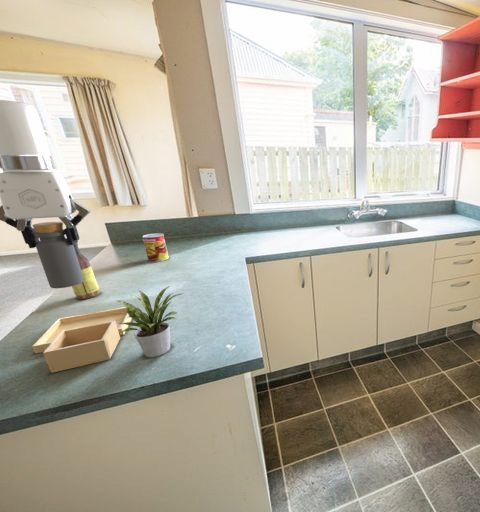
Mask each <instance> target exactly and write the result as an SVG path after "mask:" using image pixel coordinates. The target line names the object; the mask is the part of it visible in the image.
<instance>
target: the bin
mask: <svg viewBox="0 0 480 512" xmlns="http://www.w3.org/2000/svg"><path fill="white" fill-rule="evenodd" d="M120 340H121V336H120V335H119V332H118V329H117V325H116V322H115V321H110V322H105V323H100V324H95V325H89V326H84V327H79V328H73V329H68V330H63V331H61V332H60V334H59V335H58V336H57V337H56V338H55V340H54V341H53V342H52V343H51V344H50V345H49V347H48V348H47V349H46V350H45V351H44V352H42V354H43V357H44V359H45V361H46V363H47V366H48V368H49V371H50V373H51V374H53V373H58V372H61V371H65V370H70V369H73V368H79V367H83V366H87V365H91V364H96V363H100V362H104V361H109V360H111V358H112V357H113V356H112V355H113V354H114V352H115V350H116V348H117V346H118V344H119V342H120Z"/></svg>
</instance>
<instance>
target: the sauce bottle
mask: <svg viewBox="0 0 480 512" xmlns="http://www.w3.org/2000/svg"><path fill="white" fill-rule="evenodd" d="M73 246H74V249H75V252H76V255H77V258H78V262H79V265H80V268H81V271H82V275H83V278H84V282H82V283H80V284H78V285H75V286H71V288H72V291H73V293H74V295H75V297H76V298H77V299H79V300H85V299H91V298H94V297H97V296H99V295H100V293H101V290H100V287H99V284H98V281H97V279H96V277H95V274H94V270H93V269H92V266H91V264H90V261H89V259H88V258H87V257H85V255H84V254H82V253H81V251H80V249H79V244H78V242H77V243H76V244H74V245H73Z"/></svg>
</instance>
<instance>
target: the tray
mask: <svg viewBox="0 0 480 512" xmlns="http://www.w3.org/2000/svg"><path fill="white" fill-rule="evenodd" d="M111 312H114V313H111ZM118 312H121V313H118ZM124 313H125V314H124ZM132 320H133V319H132V318H131V317H129V315H128V313H127V307H126V306H123V307H118V308H112V309H106V310H101V311H95V312H89V313H84V314H78V315H77V314H76V315H72V316H67V317H61V318H57V319H56V321H55V322H54V323H53V324H52V325H51V326H50V327H49V328H48V329H47V330H46V331H45V332H44V333H43V334H42V336H41V337H39V339H38V340H36V342H35V343H34V344H33V345H32V346H31V347H32V350H33V351H34V352H33V353H34V354H35V355H36V354H40V353H43V352H44V351H45V350H46V349H47V348H48V347H49V345H50V344H51V343H52V342H53V341H54V340H55V338H56V337H57V336H58V335H59V334H60V332H61V331H63V330H68V329H73V328H79V327H84V326H89V325H95V324H100V323H105V322H110V321H115V322H116V325H117V329H118V332H119V335H120V337H122V336H125V334H126V332H127V331H124V332H122V331H123V330H125V329H127V328H129V326H130V325H126V324H118V323H124V322H131V321H132ZM121 332H122V333H121Z"/></svg>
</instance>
